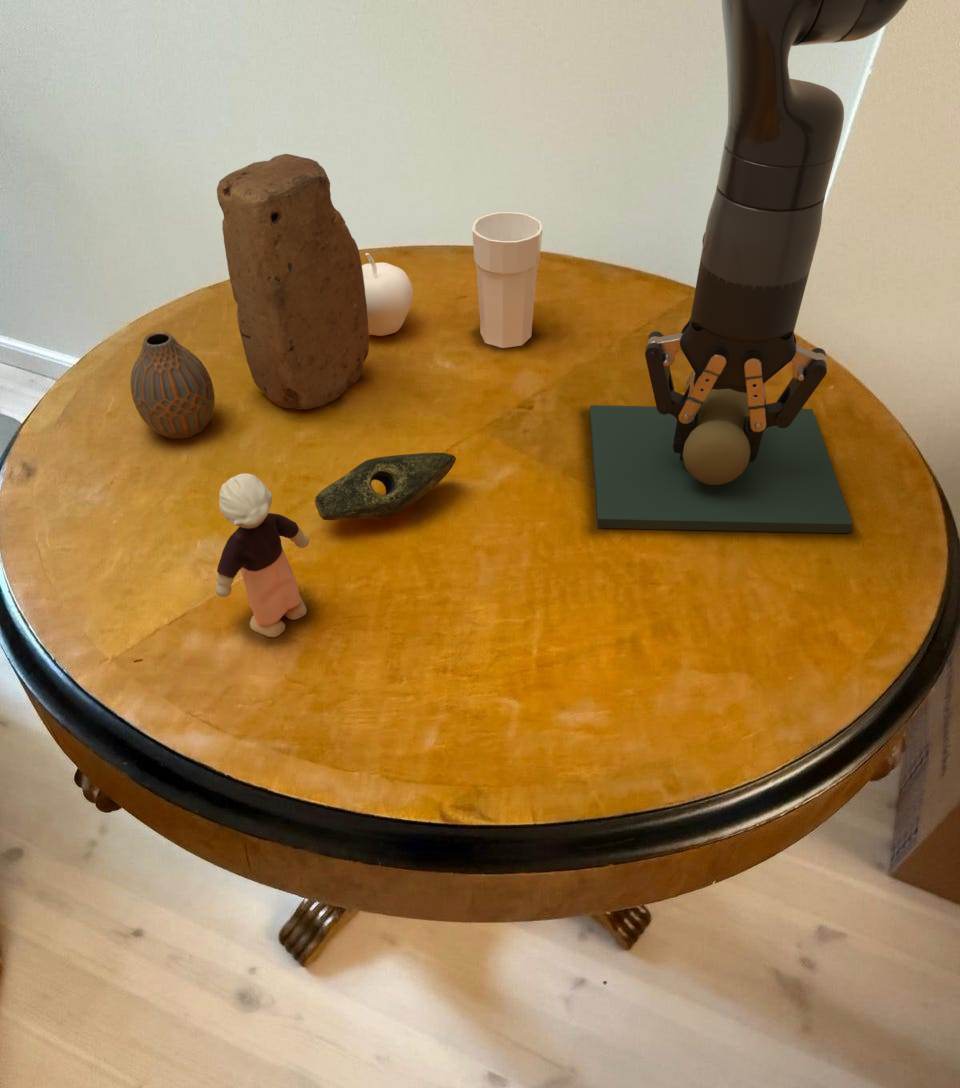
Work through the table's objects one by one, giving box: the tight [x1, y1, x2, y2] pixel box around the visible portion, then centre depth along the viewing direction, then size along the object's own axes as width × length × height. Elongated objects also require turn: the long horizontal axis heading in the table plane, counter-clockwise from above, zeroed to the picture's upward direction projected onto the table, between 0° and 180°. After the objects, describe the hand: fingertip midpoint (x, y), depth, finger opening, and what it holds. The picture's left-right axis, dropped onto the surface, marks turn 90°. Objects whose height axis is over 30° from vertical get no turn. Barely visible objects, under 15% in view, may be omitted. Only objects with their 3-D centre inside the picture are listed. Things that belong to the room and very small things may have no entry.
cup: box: [471, 211, 543, 349], centre depth 91 cm, size 7×7×11 cm
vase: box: [130, 331, 216, 440], centre depth 81 cm, size 7×7×9 cm
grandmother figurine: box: [214, 473, 310, 638], centre depth 63 cm, size 8×4×13 cm, turn 150°
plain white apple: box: [362, 252, 414, 337], centre depth 93 cm, size 7×7×8 cm
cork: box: [683, 370, 750, 485], centre depth 76 cm, size 6×6×11 cm
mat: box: [589, 404, 853, 534], centre depth 79 cm, size 20×16×1 cm
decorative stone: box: [314, 452, 457, 521], centre depth 74 cm, size 11×8×5 cm
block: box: [216, 153, 370, 410], centre depth 81 cm, size 11×8×20 cm
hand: (712, 457), depth 77 cm, fingers closed on cork, 4 cm apart
